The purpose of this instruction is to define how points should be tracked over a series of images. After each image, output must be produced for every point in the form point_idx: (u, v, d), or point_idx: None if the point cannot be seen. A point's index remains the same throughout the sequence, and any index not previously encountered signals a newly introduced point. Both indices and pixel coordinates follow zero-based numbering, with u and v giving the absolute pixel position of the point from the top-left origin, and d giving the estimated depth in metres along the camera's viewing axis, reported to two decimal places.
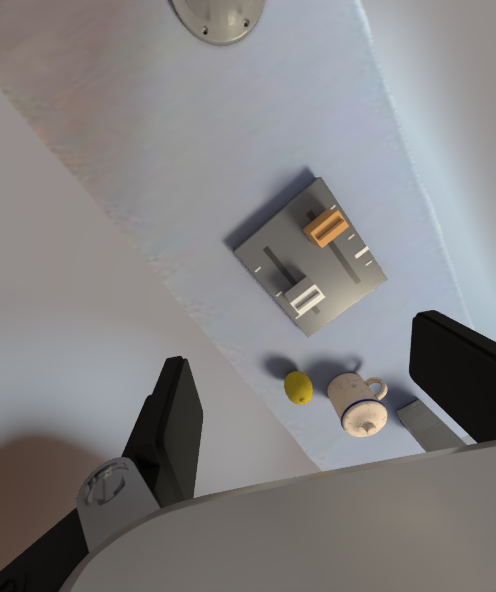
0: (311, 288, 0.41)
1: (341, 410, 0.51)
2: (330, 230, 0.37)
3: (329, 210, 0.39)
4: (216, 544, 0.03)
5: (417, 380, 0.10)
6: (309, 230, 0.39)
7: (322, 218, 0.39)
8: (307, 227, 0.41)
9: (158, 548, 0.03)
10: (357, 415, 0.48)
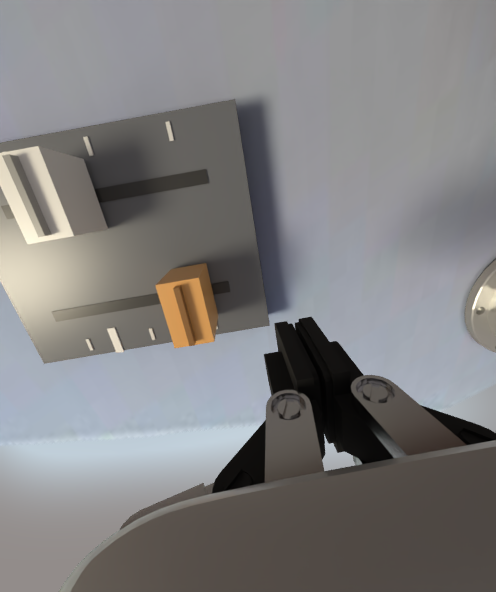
0: (64, 222, 0.16)
1: None
2: (184, 316, 0.17)
3: (216, 321, 0.21)
4: (216, 544, 0.03)
5: None
6: (202, 276, 0.19)
7: (210, 307, 0.20)
8: (206, 274, 0.21)
9: (159, 547, 0.03)
10: None
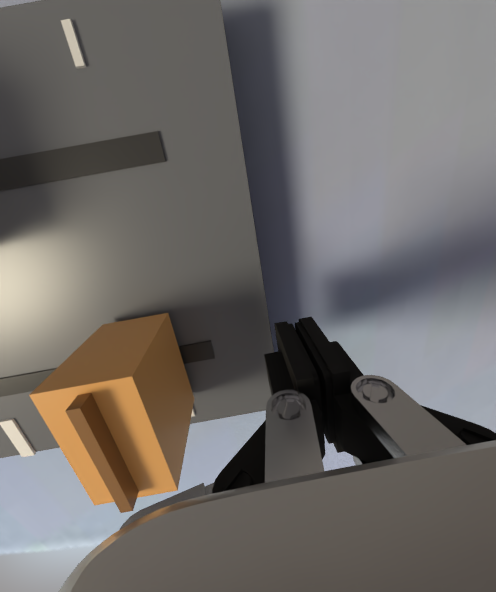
0: None
1: None
2: (102, 462, 0.08)
3: (187, 423, 0.11)
4: (216, 544, 0.03)
5: None
6: (149, 358, 0.09)
7: (174, 406, 0.10)
8: (166, 337, 0.11)
9: (159, 547, 0.03)
10: None
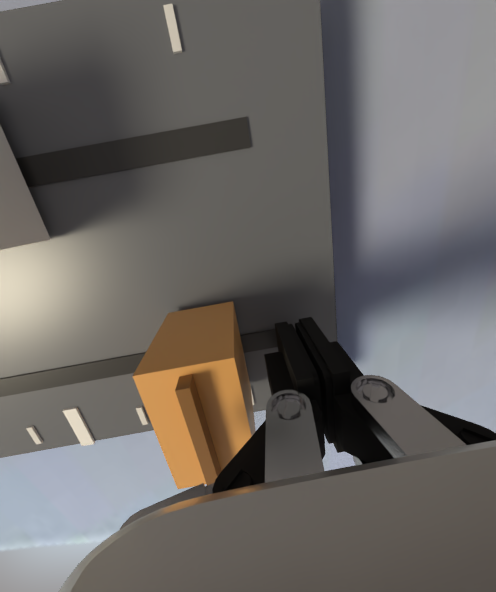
0: None
1: None
2: (201, 443, 0.08)
3: (252, 410, 0.11)
4: (216, 544, 0.03)
5: None
6: (235, 343, 0.09)
7: (247, 392, 0.10)
8: (236, 325, 0.11)
9: (158, 548, 0.03)
10: None
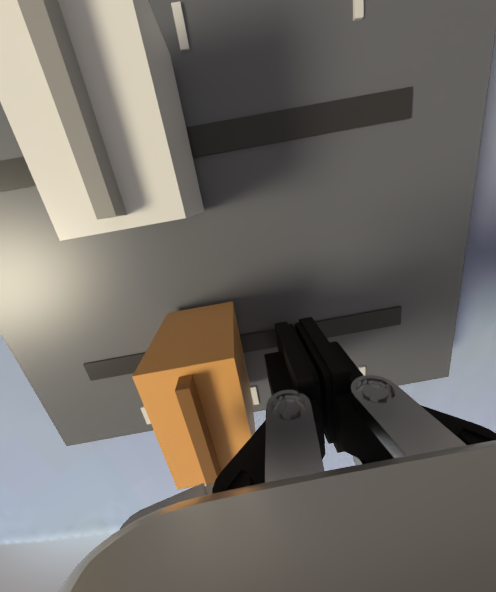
0: (165, 180, 0.06)
1: None
2: (200, 443, 0.08)
3: (252, 410, 0.11)
4: (216, 544, 0.03)
5: None
6: (235, 343, 0.09)
7: (247, 393, 0.10)
8: (236, 325, 0.11)
9: (158, 548, 0.03)
10: None
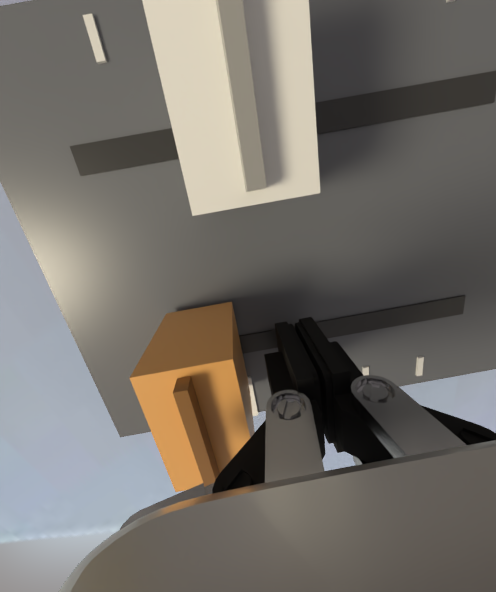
0: (306, 153, 0.06)
1: None
2: (199, 446, 0.08)
3: (251, 412, 0.11)
4: (216, 544, 0.03)
5: None
6: (234, 344, 0.09)
7: (246, 394, 0.10)
8: (235, 325, 0.11)
9: (159, 548, 0.03)
10: None
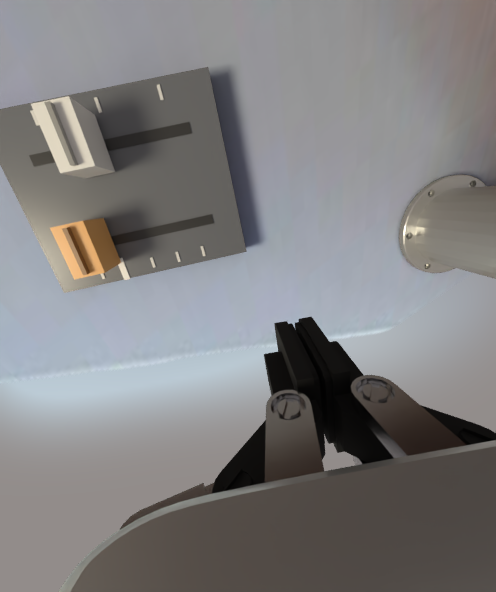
0: (88, 155, 0.21)
1: None
2: (74, 251, 0.23)
3: (113, 263, 0.27)
4: (216, 544, 0.03)
5: None
6: (91, 223, 0.24)
7: (105, 249, 0.26)
8: (102, 225, 0.27)
9: (159, 547, 0.03)
10: None
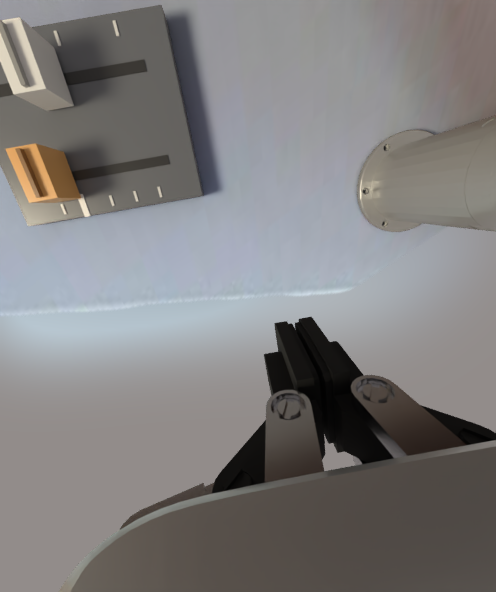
0: (38, 77, 0.23)
1: None
2: (27, 172, 0.25)
3: (71, 195, 0.29)
4: (216, 544, 0.03)
5: None
6: (46, 149, 0.26)
7: (61, 178, 0.28)
8: (60, 157, 0.28)
9: (158, 548, 0.03)
10: None
